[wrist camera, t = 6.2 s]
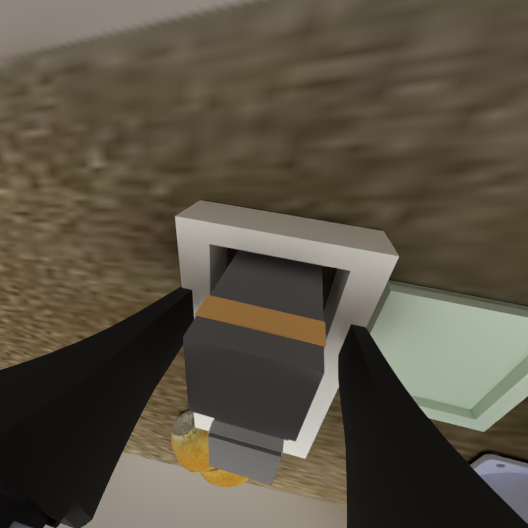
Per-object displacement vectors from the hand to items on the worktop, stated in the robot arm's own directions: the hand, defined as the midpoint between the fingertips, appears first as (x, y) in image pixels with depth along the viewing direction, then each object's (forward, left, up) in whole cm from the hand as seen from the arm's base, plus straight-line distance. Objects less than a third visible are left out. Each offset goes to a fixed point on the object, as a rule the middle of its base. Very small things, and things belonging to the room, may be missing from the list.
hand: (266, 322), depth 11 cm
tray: (-10, +3, -3) cm, 11 cm away
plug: (0, 0, -3) cm, 3 cm away
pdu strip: (0, +5, -3) cm, 6 cm away
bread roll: (+3, +20, -4) cm, 20 cm away
